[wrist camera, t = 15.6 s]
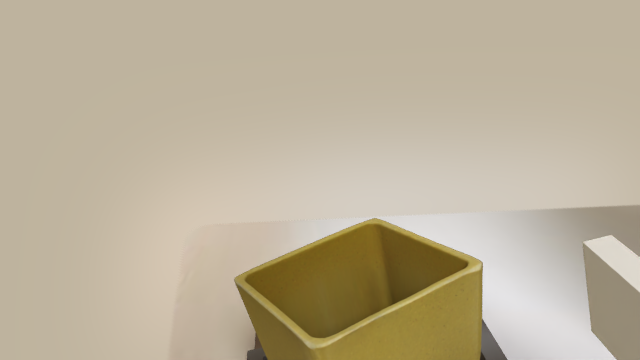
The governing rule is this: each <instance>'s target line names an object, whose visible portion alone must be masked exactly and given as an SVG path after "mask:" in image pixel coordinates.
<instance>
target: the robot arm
mask: <svg viewBox="0 0 640 360" xmlns="http://www.w3.org/2000/svg"><path fill="white" fill-rule="evenodd" d="M583 252H584V262H585V271H586V281H587V291H588V301H589V310H590V320H591V330H592V332H593V333H594V334H595V335H596V336H597V338H598V339H599V340H600V341H601V342H602V343H603V344H604V346H605V347H606V348H607V349H608V350H609V351H610V352H611V354H612V355H613V356H614V357H615V358H616V359H617V360H640V257H639V256H638V255H636V254H635V253H634V252H633V251H631V250H630V249H629V248H627V247H626V246H625V245H624V244H622V243H621V242H620V241H619V240H617V239H616V238H615V237H613V236H612V235H609V236H604V237H600V238H596V239H592V240H588V241H584V242H583Z"/></svg>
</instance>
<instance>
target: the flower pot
mask: <svg viewBox="0 0 640 360" xmlns="http://www.w3.org/2000/svg"><path fill="white" fill-rule="evenodd" d="M482 271H483V262H481V261H480V260H478V259H476V258H474V257H472V256H470V255H467V254H464V253H462V252H459V251H456V250H454V249H452V248H449V247H447V246H444V245H442V244H439V243H436V242H434V241H432V240H429V239H427V238H424V237H422V236H419V235H417V234H415V233H412V232H410V231H407V230H405V229H402V228H400V227H398V226H395V225H393V224H390V223H388V222H386V221H383V220H380V219H377V218H373V219H370V220H367V221H364V222H362V223H359V224H356V225H354V226H351V227H349V228H346V229H343V230H341V231H339V232H336V233H334V234H332V235H329V236H327V237H325V238H322V239H320V240H318V241H315V242H313V243H311V244H308V245H306V246H304V247H301V248H299V249H297V250H294V251H292V252H290V253H287V254H285V255H283V256H281V257H278V258H276V259H274V260H271V261H269V262H267V263H264V264H262V265H260V266H257V267H255V268H253V269H251V270H249V271H247V272H245V273H243V274H241V275H239V276H237V277H235V279H234V281H235V283H236V286H237V288H238V290H239V293H240V295H241V298H242V300H243V302H244V305H245V307H246V310H247V312H248V314H249V317H250V319H251V321H252V324H253V326H254V329H255V331H256V334H257V336H258V338H259V341H260V343H261V345H262V348H263V350H264V352H265V355H266V357H267V359H268V360H480V354H481V336H482Z"/></svg>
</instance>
